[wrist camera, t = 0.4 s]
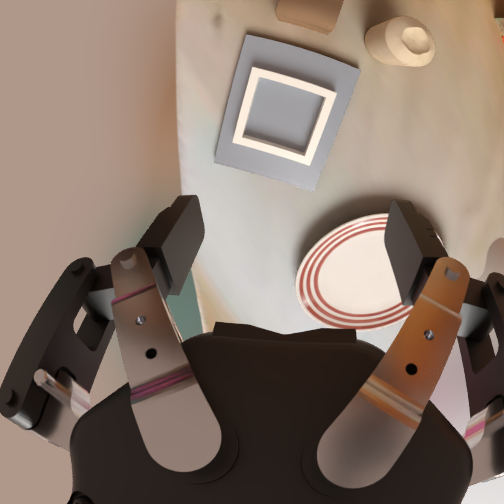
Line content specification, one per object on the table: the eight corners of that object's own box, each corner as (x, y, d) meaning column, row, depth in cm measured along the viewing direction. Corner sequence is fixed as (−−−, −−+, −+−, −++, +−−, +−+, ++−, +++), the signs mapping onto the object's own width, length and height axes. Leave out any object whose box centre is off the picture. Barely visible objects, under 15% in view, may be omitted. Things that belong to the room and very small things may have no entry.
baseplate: (247, 35, 25) (244, 33, 23) (359, 70, 26) (363, 70, 24) (215, 160, 37) (211, 166, 35) (312, 189, 37) (313, 197, 36)
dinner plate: (456, 204, 34) (465, 215, 32) (419, 316, 51) (423, 328, 49) (291, 205, 40) (290, 217, 37) (297, 322, 57) (297, 335, 54)
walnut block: (291, -18, 20) (290, -33, 15) (339, -3, 20) (348, -15, 16) (278, 20, 24) (275, 11, 19) (327, 34, 24) (333, 28, 19)
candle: (374, 17, 21) (403, 3, 13) (411, 42, 22) (449, 39, 14) (356, 48, 24) (380, 43, 17) (394, 72, 25) (427, 78, 17)
